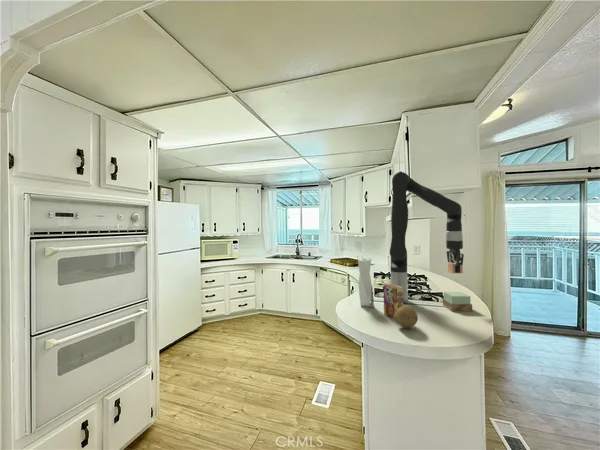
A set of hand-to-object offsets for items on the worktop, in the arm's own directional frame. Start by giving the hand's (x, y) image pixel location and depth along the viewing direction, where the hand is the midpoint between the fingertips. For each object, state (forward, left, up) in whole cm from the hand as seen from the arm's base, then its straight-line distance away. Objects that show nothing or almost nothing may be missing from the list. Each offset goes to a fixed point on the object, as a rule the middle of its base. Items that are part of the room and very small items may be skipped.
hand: (455, 271), depth 135 cm
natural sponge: (-33, -29, -20) cm, 48 cm away
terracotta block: (0, 0, 0) cm, 0 cm away
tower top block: (0, 0, -16) cm, 16 cm away
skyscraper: (-46, +3, -20) cm, 50 cm away
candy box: (-35, -14, -20) cm, 43 cm away
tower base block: (0, 0, -20) cm, 20 cm away
